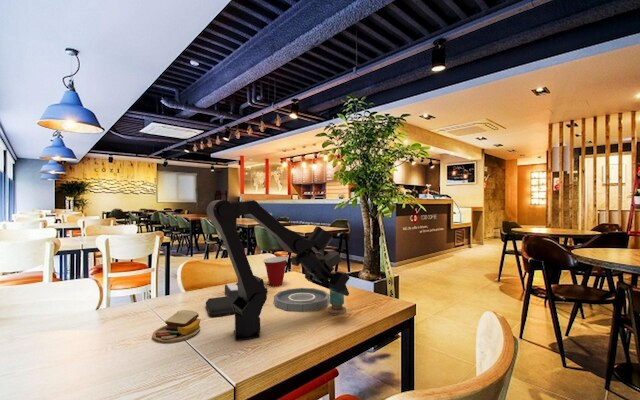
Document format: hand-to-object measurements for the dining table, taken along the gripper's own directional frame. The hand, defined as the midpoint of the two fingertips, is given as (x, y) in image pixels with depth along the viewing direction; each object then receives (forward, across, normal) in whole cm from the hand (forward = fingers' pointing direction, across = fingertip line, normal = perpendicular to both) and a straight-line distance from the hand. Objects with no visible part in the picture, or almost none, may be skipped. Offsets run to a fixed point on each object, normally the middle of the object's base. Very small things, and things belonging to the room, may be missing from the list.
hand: (340, 291), depth 110 cm
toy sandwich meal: (-30, +13, +40) cm, 52 cm away
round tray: (0, +16, +9) cm, 18 cm away
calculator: (-8, +39, +18) cm, 44 cm away
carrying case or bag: (-18, +25, +28) cm, 42 cm away
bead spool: (+4, 0, +6) cm, 7 cm away
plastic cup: (+2, +44, +7) cm, 44 cm away
